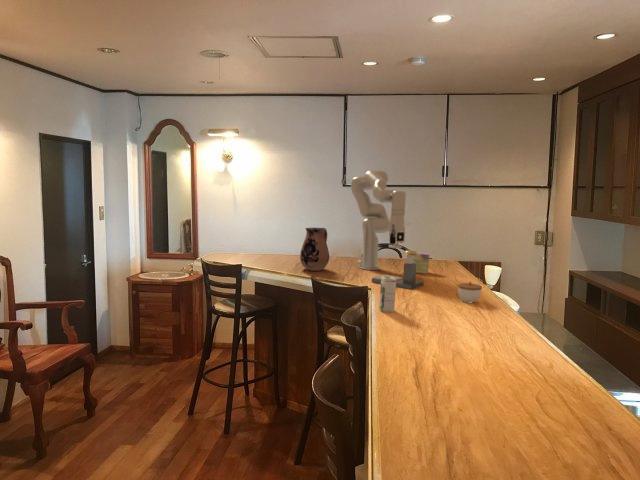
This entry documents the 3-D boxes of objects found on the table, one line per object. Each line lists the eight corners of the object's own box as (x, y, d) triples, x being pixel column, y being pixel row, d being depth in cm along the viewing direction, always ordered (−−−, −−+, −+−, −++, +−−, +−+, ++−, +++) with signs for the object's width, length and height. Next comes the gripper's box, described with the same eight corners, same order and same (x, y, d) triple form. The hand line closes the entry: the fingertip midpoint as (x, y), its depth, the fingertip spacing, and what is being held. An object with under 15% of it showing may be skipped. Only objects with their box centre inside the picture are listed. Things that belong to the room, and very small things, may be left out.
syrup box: (378, 308, 227) (380, 276, 226) (391, 308, 228) (393, 276, 226) (381, 312, 222) (383, 278, 220) (394, 312, 222) (396, 279, 220)
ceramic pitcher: (294, 270, 308) (296, 228, 305) (309, 265, 328) (310, 225, 324) (322, 273, 302) (324, 230, 298) (335, 268, 321) (336, 227, 318)
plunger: (401, 272, 276) (403, 251, 274) (407, 271, 280) (408, 250, 279) (412, 274, 272) (413, 252, 270) (417, 273, 277) (418, 251, 275)
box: (427, 272, 319) (428, 253, 318) (428, 273, 314) (429, 254, 312) (410, 271, 320) (411, 252, 319) (410, 272, 315) (411, 253, 313)
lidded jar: (463, 297, 255) (464, 278, 253) (484, 301, 248) (485, 282, 247) (453, 301, 246) (454, 281, 245) (475, 305, 240) (476, 285, 238)
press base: (371, 282, 283) (372, 260, 281) (384, 278, 294) (385, 257, 292) (411, 289, 268) (412, 266, 267) (423, 285, 280) (424, 263, 278)
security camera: (395, 248, 292) (396, 231, 291) (387, 247, 298) (388, 229, 297) (404, 248, 295) (405, 230, 294) (396, 246, 301) (397, 229, 300)
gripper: (399, 211, 303) (397, 241, 305) (384, 212, 289) (382, 243, 291) (411, 212, 298) (409, 242, 301) (396, 213, 285) (394, 245, 287)
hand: (396, 243), depth 296 cm, fingers closed on security camera, 8 cm apart
